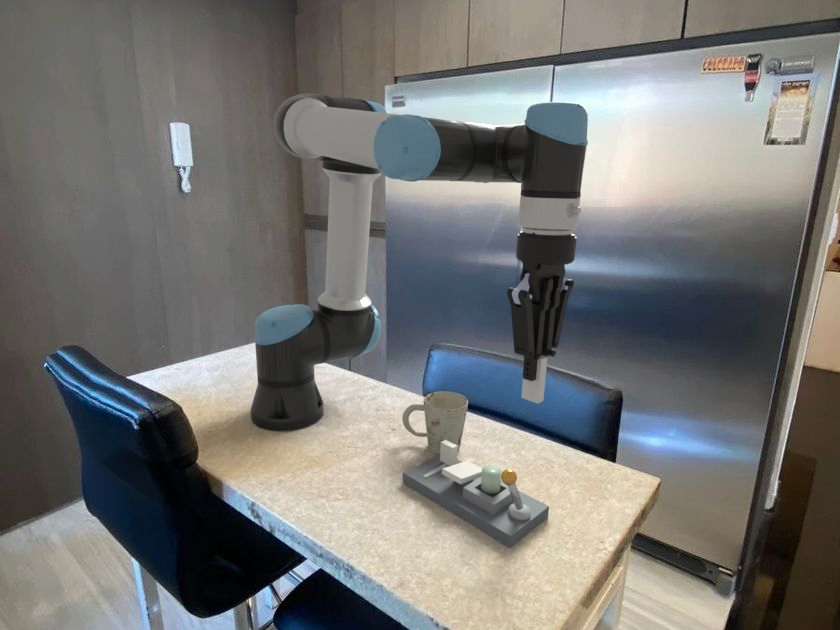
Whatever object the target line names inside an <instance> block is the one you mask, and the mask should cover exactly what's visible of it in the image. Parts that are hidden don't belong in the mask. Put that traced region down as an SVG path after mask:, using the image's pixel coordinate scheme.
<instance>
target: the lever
mask: <svg viewBox="0 0 840 630" xmlns="http://www.w3.org/2000/svg"><path fill="white" fill-rule="evenodd" d="M501 480H502V481H503V483H504V484H506V485H507V486H508V488H509V491H510V494H511V497H512V500H513V502H514V505H515V508H516V509H517V510H521V509H522V508H523V503H522V500H521V498H520V495H519V492H518V491H519V488H518V486H517V480H518V476H517V473H516V471H514V470H513V469H511V468H506V469H505V470H503V471H502V473H501ZM517 488H518V489H517Z"/></svg>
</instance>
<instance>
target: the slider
mask: <svg viewBox="0 0 840 630" xmlns="http://www.w3.org/2000/svg"><path fill="white" fill-rule="evenodd" d="M457 459H458V452H457V445H455V444H453V443H451V442H449V441H447V440H444V441H442V442H441V447H440V461H441V462H443V463H445V464H447V465H449V466H452V465H456V464H457Z"/></svg>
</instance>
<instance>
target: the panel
mask: <svg viewBox="0 0 840 630" xmlns="http://www.w3.org/2000/svg"><path fill="white" fill-rule="evenodd" d="M462 462H463V461H461V460H459V459H458V458H457V464H459V463H462ZM446 467H449V465H447V464H445V463H443V462H441V461H440V454H438V455H437V454H435V455H434V456H432V457H430V458H429V459H427V460H425V461H423V462H421V463H419V464H416V465H415V466H413V467H411V468H409V469H407V470H406V471H404V472H402V484H403V485H405V486H407V487H409V488H410V489H412V490H413V491H415V492H416V493H418V494H419V495H421V496H423V497H425V498H426V499H428V500H430V501H432V502H433V503H435V504H436V505H438V506H440V507H441V508H443V509H444V510H446V511H448V512H450V513H452V515H455V516H456V517H458V518H459V519H461V520H462V521H464V522H465V523H468V524H469V525H471V526H472V527H474V528H476V529H477V530H479V531H481V532H482V533H484V534H486V535H487V536H489V537H490V538H492V539H494V540H496V541H497V542H499V543H500V544H502V545H504V546H505V547H507V548H509V549H511V548H512V547H513V546H515V545H516V544H517V543H519V542H520V541H521V540H522V539H524V538H525V537H526V536H527V535H528V534H529V533H531V532H532V531H533V530H535V529H536V528H537V527H538V526H539V525H541V524H542V523H543V522H544V521H546V520H547V519H548V518H549V511H550V506H549V505H548V504H546V503H544V502H542V501H540V500H538V499H536V498H534V497H532V496H530V495H528V494H526V493H525V492H522V491H520V490H519V488H518V487H517V489H518V492H519V495H520V498H521V500H522V503H523V508H522V509H521V510H517V509H516V508H515V505H514V502H513V500H512V497H511V494H510V491H509V488H508V486H507V485H506V484H504V483H503V481H502V479H501V487H500V491H499V492H498V493H494V494H490V493H486V492H484V491H483V490H482V489H481V477H482V476H481V477H479V478H477V479H474V480H471V481H468V482H465V483H463V484H459V483H457V482H455V481H454V480H452V479H450V478H448V477H446V476H445V475H443V474H442V469H443V468H446Z"/></svg>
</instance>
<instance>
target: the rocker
mask: <svg viewBox="0 0 840 630" xmlns="http://www.w3.org/2000/svg"><path fill="white" fill-rule="evenodd" d="M461 462H462V463H459V464H456V465H452V466H449V467H446V468H443V469H442V474H443V475H445V476H446V477H448V478H450V479H452V480H454V481H455V482H457V483H459V484H463V483H465V482H468V481H471V480H474V479H477V478H479V477H481V476H482V468H483V467H480V466H478V465H476V464H475V463H472V462H471V461H469V460H465V461H461Z"/></svg>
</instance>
